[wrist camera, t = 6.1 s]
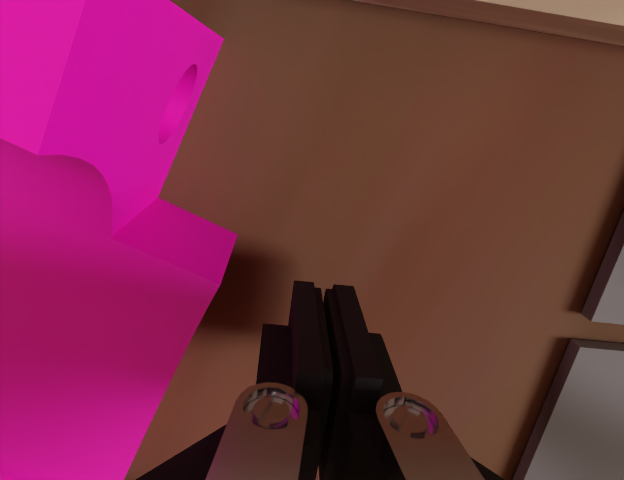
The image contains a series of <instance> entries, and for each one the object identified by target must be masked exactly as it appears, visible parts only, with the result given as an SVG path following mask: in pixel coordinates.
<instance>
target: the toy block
mask: <svg viewBox="0 0 624 480" xmlns="http://www.w3.org/2000/svg"><path fill="white" fill-rule="evenodd" d="M223 40H224V39H223V38H222V37H220V36H219V35H218V34H216V33H215V32H213V31H212V30H211V29H209V28H208V27H206V26H205V25H204V24H202V23H201V22H199V21H198V20H196V19H195V18H194V17H192V16H191V15H189V14H188V13H187V12H185V11H184V10H182V9H181V8H180V7H178V6H177V5H175V4H174V3H173V2H171V1H170V0H0V480H124V478H125V476H126V474H127V472H128V469H129V467H130V465H131V463H132V461H133V459H134V456H135V454H136V452H137V450H138V448H139V446H140V444H141V442H142V439H143V437H144V435H145V433H146V431H147V429H148V427H149V425H150V422H151V420H152V418H153V416H154V414H155V412H156V410H157V408H158V406H159V404H160V401H161V399H162V397H163V395H164V393H165V391H166V389H167V387H168V385H169V383H170V381H171V379H172V377H173V375H174V373H175V371H176V369H177V367H178V365H179V363H180V360H181V358H182V356H183V355H184V353H185V351H186V349H187V347H188V345H189V343H190V341H191V339H192V337H193V335H194V333H195V331H196V329H197V327H198V325H199V323H200V321H201V319H202V317H203V316H204V314H205V312H206V310H207V308H208V306H209V304H210V302H211V301H212V299H213V297H214V295H215V293H216V292H217V290H218V288H219V286H220V284H221V281H222V278H223V276H224V273H225V270H226V267H227V264H228V261H229V258H230V256H231V253H232V250H233V247H234V244H235V241H236V238H237V236H238V235H237V234H235V233H233V232H231V231H229V230H227V229H224V228H222V227H220V226H218V225H216V224H214V223H212V222H209V221H207V220H205V219H203V218H201V217H199V216H196V215H194V214H192V213H190V212H188V211H186V210H184V209H181V208H179V207H177V206H175V205H173V204H171V203H168V202H166V201H164V200H162V199H160V198H158V196H159V193H160V191H161V189H162V186H163V184H164V181H165V179H166V177H167V174H168V172H169V169H170V167H171V165H172V162H173V160H174V157H175V155H176V153H177V150H178V148H179V146H180V143H181V141H182V138H183V136H184V134H185V131H186V129H187V126H188V124H189V122H190V119H191V117H192V114H193V112H194V110H195V107H196V105H197V102H198V100H199V98H200V95H201V93H202V90H203V88H204V86H205V83H206V81H207V78H208V76H209V74H210V71H211V69H212V66H213V64H214V62H215V59H216V57H217V54H218V52H219V50H220V47H221V45H222V42H223Z"/></svg>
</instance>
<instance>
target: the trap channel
mask: <svg viewBox="0 0 624 480" xmlns="http://www.w3.org/2000/svg"><path fill="white" fill-rule="evenodd" d="M353 1H359V2H365V3H371V4H376V5H382V6H388V7H394V8H400V9H406V10H412V11H418V12H424V13H430V14H436V15H442V16H448V17H454V18H460V19H466V20H472V21H478V22H484V23H490V24H496V25H501V26H507V27H513V28H519V29H525V30H531V31H537V32H543V33H549V34H555V35H561V36H567V37H573V38H579V39H585V40H591V41H597V42H603V43H609V44H615V45H621V46H624V0H353ZM581 314H582V315H584V316H585V317H586V318H588V319H589V320H590V321H592V322H602V323H612V324H623V325H624V211H623V213H622V215H621V218H620V220H619V223H618V225H617V228H616V230H615V232H614V235H613V237H612V240H611V242H610V245H609V247H608V249H607V252H606V254H605V257H604V259H603V261H602V264H601V266H600V269H599V271H598V274H597V276H596V278H595V281H594V283H593V286H592V288H591V291H590V293H589V295H588V298H587V300H586V303H585V305H584V308H583V310H582V312H581ZM623 478H624V344H622V343H612V342H601V341H590V340H580V339H570V342H569V344H568V346H567V349H566V351H565V354H564V356H563V359H562V361H561V363H560V366H559V368H558V371H557V373H556V375H555V378H554V380H553V383H552V385H551V388H550V390H549V392H548V395H547V397H546V400H545V402H544V405H543V407H542V409H541V412H540V414H539V417H538V419H537V422H536V424H535V426H534V429H533V431H532V434H531V436H530V439H529V441H528V443H527V446H526V448H525V451H524V453H523V456H522V458H521V460H520V463H519V465H518V468H517V470H516V473H515V475H514V477H513V480H623Z"/></svg>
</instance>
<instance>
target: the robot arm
mask: <svg viewBox="0 0 624 480" xmlns="http://www.w3.org/2000/svg"><path fill="white" fill-rule="evenodd" d="M318 464H319V477H320V480H504V479H503V478H501V477H500V476H498V475H497V474H495V473H494V472H492V471H491V470H489V469H488V468H486V467H485V466H483V465H482V464H480V463H478V462H477V461H475V460H474V459H472V458H471V457H470V456H469V455H468V453H467V452H466V450H465V449H464V447H463V446H462V444H461V442H460V441H459V439H458V438H457V436H456V435H455V433H454V432H453V430H452V429H451V427H450V425H449V424H448V422H447V421H446V419H445V418H444V416H443V415H442V414H441V412H440V411H439V410H438V409H437V408H436V407H435V406H434V405H433V404H431V403H430V402H429V401H427V400H425V399H423V398H421V397H419V396H417V395H414V394H410V393H405V392H402V390H401V387H400V384H399V382H398V379H397V376H396V374H395V371H394V368H393V365H392V363H391V360H390V357H389V355H388V352H387V349H386V346H385V344H384V341H383V338H382V336H381V334H377V333H368V330H367V327H366V323H365V320H364V317H363V314H362V311H361V308H360V305H359V301H358V298H357V295H356V292H355V289H354V287H353V286H345V285H335V284H334V285H333V288H332V289H326V291H325V296H324V302H323V299H322V293H321V288H314V282H304V281H294V285H293V292H292V300H291V308H290V315H289V323H288V326H285V325H274V324H263V328H262V337H261V346H260V355H259V364H258V372H257V381H256V385H253V386H251V387H248V388H247V389H246V390H244V391H243V392H242V393H241V394H240V395H239V397H238V398H237V400H236V402H235V405H234V407H233V410H232V413H231V415H230V418H229V420H228V423H227V424H226V425H225V426H223V427H221V428H220V429H218V430H216V431H215V432H213V433H211V434H210V435H208V436H207V437H205V438H203V439H202V440H200V441H198V442H197V443H195V444H193V445H192V446H190V447H189V448H187V449H185V450H184V451H182V452H180V453H179V454H177V455H175V456H174V457H172V458H171V459H169V460H167V461H166V462H164V463H162V464H161V465H159V466H157V467H156V468H154V469H152V470H151V471H149V472H148V473H146V474H144V475H143V476H141V477H139V478H138V479H136V480H315V479H316V474H317V468H318Z"/></svg>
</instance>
